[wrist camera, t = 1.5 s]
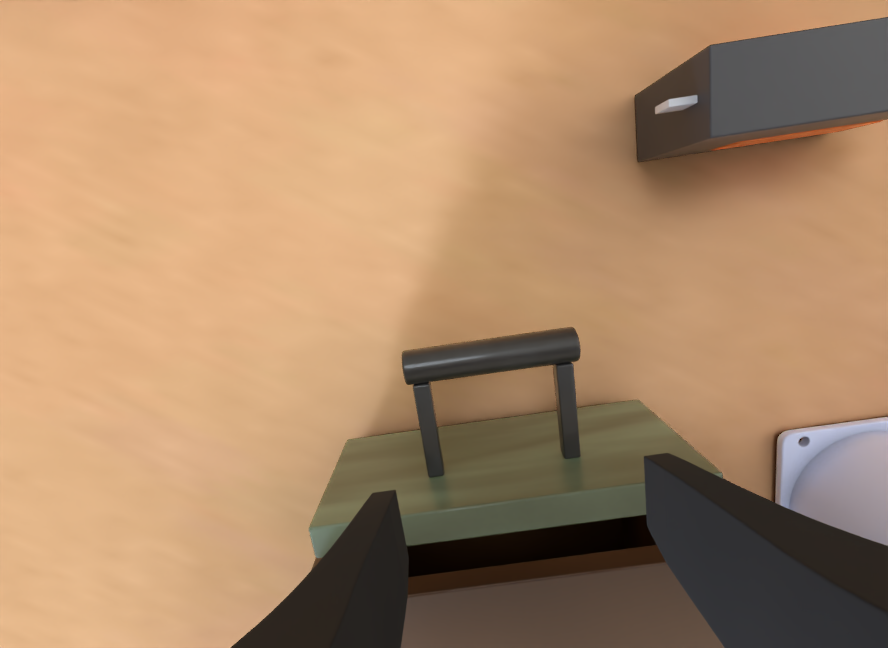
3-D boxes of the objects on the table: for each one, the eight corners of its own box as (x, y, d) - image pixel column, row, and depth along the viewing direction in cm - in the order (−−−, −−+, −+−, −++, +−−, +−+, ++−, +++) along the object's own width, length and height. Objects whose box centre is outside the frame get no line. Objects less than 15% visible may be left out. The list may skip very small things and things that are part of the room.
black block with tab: (833, 63, 17) (988, -2, 12) (829, 134, 18) (976, 99, 13) (612, 97, 17) (679, 47, 13) (615, 166, 18) (681, 144, 13)
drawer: (325, 339, 19) (272, 390, 13) (633, 294, 18) (723, 326, 12) (396, 670, 23) (381, 824, 17) (649, 638, 22) (724, 784, 17)
